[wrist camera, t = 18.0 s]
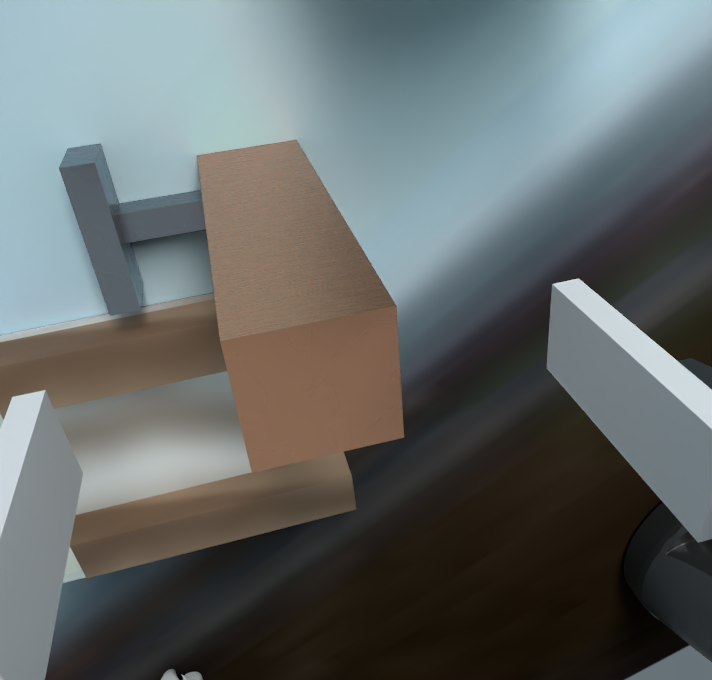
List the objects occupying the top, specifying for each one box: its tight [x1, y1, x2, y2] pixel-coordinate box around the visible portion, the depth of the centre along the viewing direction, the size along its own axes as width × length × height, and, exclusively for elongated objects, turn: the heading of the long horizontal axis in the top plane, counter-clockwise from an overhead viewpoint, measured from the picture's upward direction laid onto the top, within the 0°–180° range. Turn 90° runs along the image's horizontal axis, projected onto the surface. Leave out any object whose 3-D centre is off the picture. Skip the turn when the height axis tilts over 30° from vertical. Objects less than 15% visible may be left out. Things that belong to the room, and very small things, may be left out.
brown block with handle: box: [59, 140, 404, 473], centre depth 21 cm, size 6×9×14 cm
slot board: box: [0, 293, 356, 578], centre depth 31 cm, size 13×14×3 cm
